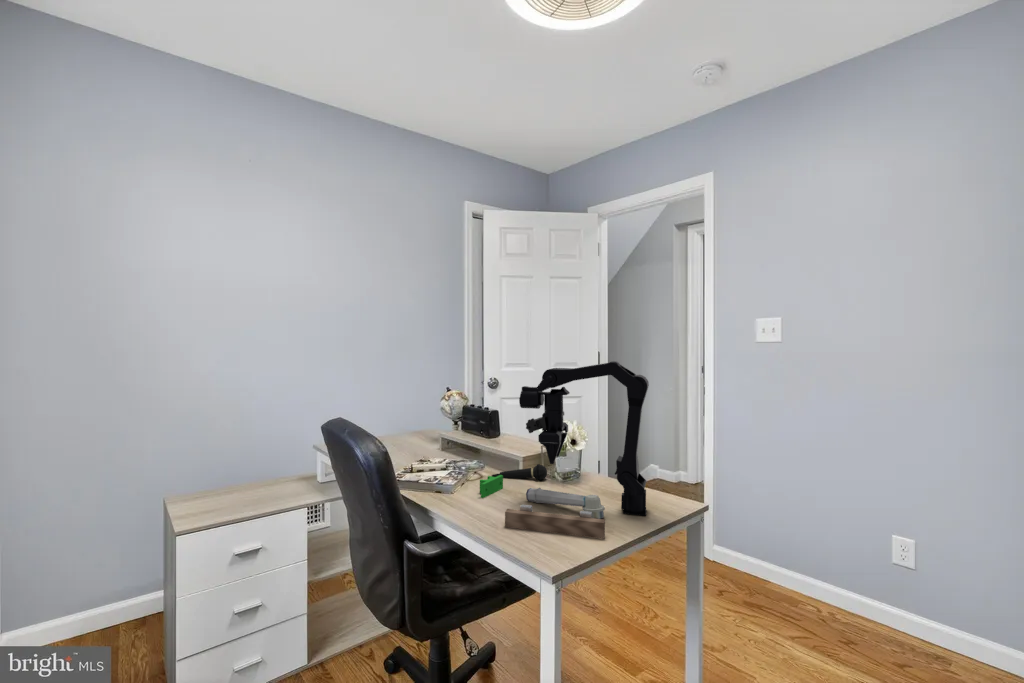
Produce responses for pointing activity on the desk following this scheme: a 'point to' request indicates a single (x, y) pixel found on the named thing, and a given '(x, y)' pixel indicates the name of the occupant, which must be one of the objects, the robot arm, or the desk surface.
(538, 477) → the microphone
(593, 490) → the desk surface
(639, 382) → the robot arm
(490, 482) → the pipe clamp
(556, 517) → the rail
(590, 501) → the grey elongated rounded piece
